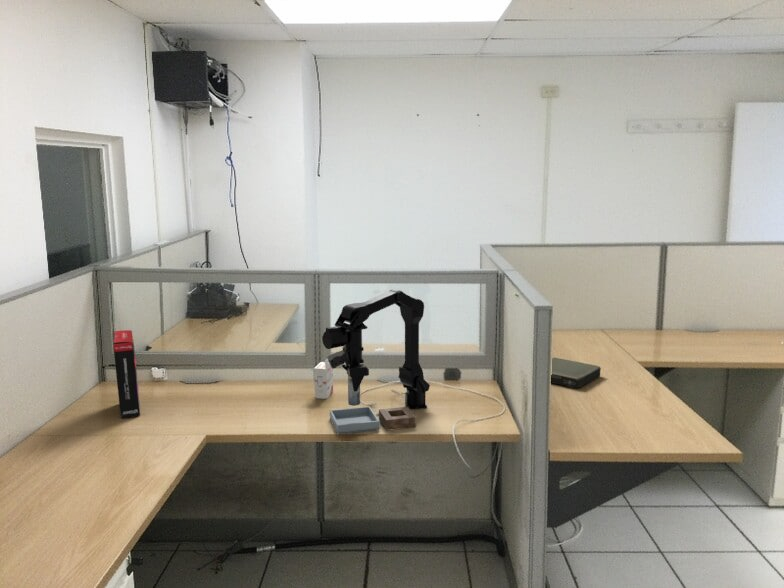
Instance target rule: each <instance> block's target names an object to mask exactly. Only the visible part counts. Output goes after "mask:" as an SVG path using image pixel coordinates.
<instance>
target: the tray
mask: <svg viewBox="0 0 784 588" xmlns="http://www.w3.org/2000/svg"><path fill="white" fill-rule="evenodd" d="M329 420H330V422H331V423H332V425H333V428H334V430H335V432H336V434H337V435H342V434H354V433H363V432H370V431H379V430H380V429H381V428H380V427H381V426H380V425H381V424H380V423H381V422H380V420H379V417H378V416H377V415H376V413H375V412H374V410H373V409H372V408H371V406H360V407H350V408H340V409H338V408H337V409H330V410H329Z"/></svg>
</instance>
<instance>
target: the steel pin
mask: <svg viewBox="0 0 784 588" xmlns="http://www.w3.org/2000/svg"><path fill="white" fill-rule="evenodd" d="M347 399H348V400H347V401H348V402H347V404H348V405H349V406H354V407H355V406H359V405H361V385H360V386H359V388H358V390H357V391H354V390H353V385H352V380H351V377H350V376H349V375H348V374H347Z"/></svg>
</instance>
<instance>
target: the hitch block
mask: <svg viewBox="0 0 784 588" xmlns="http://www.w3.org/2000/svg"><path fill="white" fill-rule="evenodd" d="M378 419H379V421H380V423H381V425H382V426H383V428H384V429H385V430H386V431H392V430H391V429H394V430H398V429H399V430H402V429H403V430H404V429H411V428H416V427H417V425H416V423H417V421H416V419H417V417H416V415H414V413H413V412H412V411H411V409H409V407H408V406H401V407H390V408H389V407H388V408H379V409H378Z"/></svg>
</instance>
